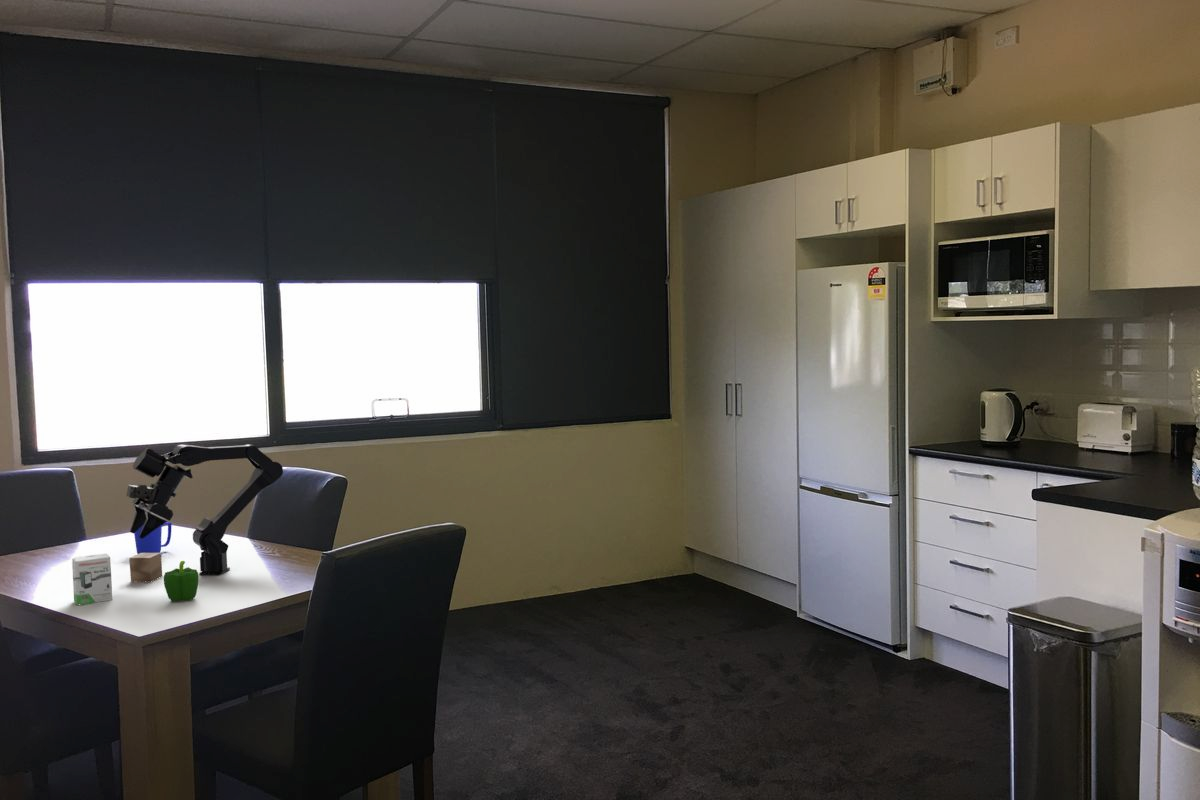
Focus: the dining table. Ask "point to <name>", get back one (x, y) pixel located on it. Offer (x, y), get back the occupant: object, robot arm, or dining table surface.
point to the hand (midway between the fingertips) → (136, 535)
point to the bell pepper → (181, 583)
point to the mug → (151, 540)
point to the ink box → (92, 578)
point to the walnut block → (145, 567)
